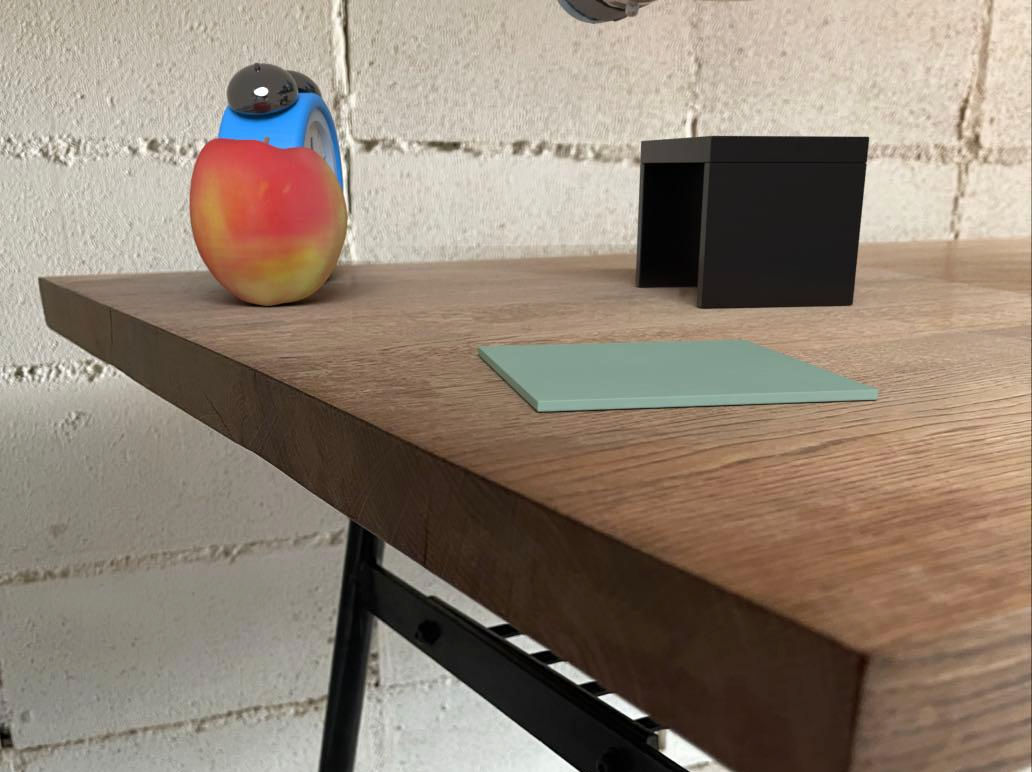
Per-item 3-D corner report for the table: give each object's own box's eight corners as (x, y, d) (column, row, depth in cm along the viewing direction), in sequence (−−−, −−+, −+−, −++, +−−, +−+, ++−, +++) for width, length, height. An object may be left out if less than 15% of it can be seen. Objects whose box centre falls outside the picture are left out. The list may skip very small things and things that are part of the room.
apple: (275, 316, 65) (264, 133, 62) (162, 306, 70) (146, 135, 67) (379, 301, 73) (374, 136, 70) (270, 292, 78) (261, 138, 75)
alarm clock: (304, 291, 78) (292, 57, 73) (218, 290, 79) (201, 58, 74) (348, 274, 90) (340, 73, 86) (273, 273, 91) (261, 74, 86)
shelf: (764, 283, 84) (774, 141, 81) (853, 305, 71) (869, 136, 68) (634, 285, 82) (640, 140, 79) (701, 308, 69) (711, 135, 66)
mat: (744, 347, 54) (745, 339, 54) (878, 400, 42) (879, 389, 42) (477, 354, 52) (477, 346, 52) (537, 412, 40) (537, 401, 40)
